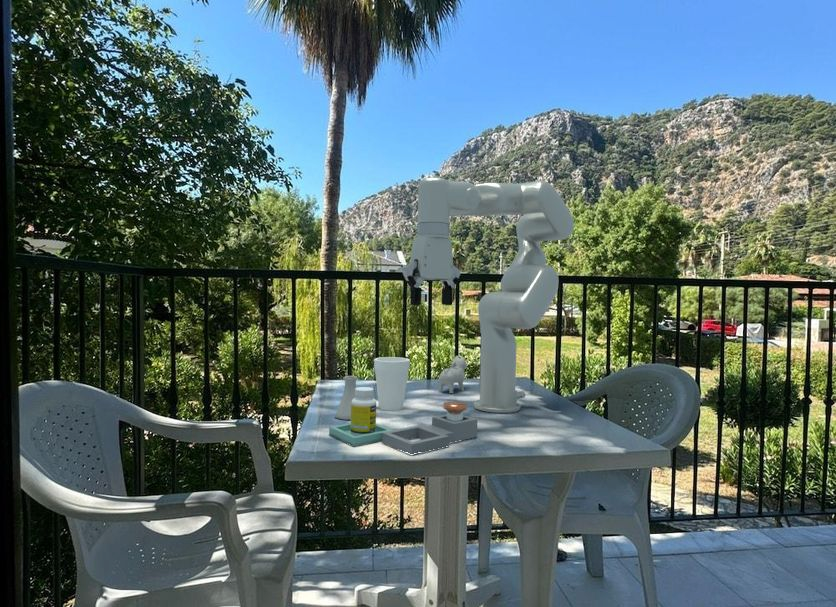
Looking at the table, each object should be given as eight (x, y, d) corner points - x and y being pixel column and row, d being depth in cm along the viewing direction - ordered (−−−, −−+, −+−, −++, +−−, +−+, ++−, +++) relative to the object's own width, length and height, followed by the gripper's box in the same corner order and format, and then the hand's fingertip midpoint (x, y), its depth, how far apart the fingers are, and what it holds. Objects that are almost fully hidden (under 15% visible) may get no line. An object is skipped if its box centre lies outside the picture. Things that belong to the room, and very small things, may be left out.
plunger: (454, 431, 118) (455, 400, 118) (470, 436, 114) (471, 404, 114) (438, 434, 115) (438, 403, 114) (453, 440, 111) (454, 407, 111)
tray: (367, 428, 119) (368, 420, 119) (393, 438, 111) (394, 430, 111) (329, 435, 113) (329, 427, 113) (353, 447, 105) (354, 438, 105)
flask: (369, 415, 131) (370, 375, 131) (356, 422, 124) (357, 380, 124) (343, 412, 134) (344, 373, 133) (329, 419, 127) (330, 378, 126)
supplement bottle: (373, 438, 109) (374, 391, 109) (347, 436, 110) (348, 390, 110) (377, 431, 115) (378, 386, 115) (353, 429, 115) (354, 385, 115)
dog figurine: (470, 388, 169) (471, 355, 168) (451, 395, 158) (452, 359, 158) (456, 386, 171) (457, 354, 171) (436, 392, 161) (437, 358, 160)
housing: (450, 428, 120) (451, 411, 120) (481, 438, 113) (482, 420, 113) (381, 443, 108) (382, 423, 108) (411, 455, 101) (411, 435, 100)
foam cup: (395, 414, 133) (396, 363, 132) (366, 408, 138) (367, 359, 137) (415, 407, 141) (416, 359, 141) (387, 402, 146) (388, 356, 145)
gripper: (449, 236, 131) (448, 304, 132) (394, 230, 120) (392, 304, 121) (470, 234, 125) (469, 305, 126) (414, 227, 114) (412, 305, 115)
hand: (431, 304), depth 123 cm, fingers open, 9 cm apart
